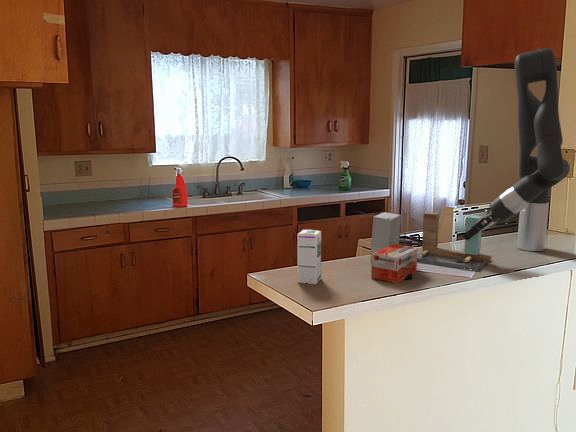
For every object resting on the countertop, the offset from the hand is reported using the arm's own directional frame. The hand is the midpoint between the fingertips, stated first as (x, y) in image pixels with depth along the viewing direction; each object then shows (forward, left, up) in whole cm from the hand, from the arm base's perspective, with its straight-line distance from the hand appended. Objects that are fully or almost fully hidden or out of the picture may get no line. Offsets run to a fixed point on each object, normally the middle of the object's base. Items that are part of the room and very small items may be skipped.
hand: (467, 236), depth 176 cm
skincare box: (+17, -21, -8) cm, 28 cm away
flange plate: (+2, -4, -8) cm, 10 cm away
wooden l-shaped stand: (+2, -3, -7) cm, 8 cm away
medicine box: (+28, -13, -9) cm, 33 cm away
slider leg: (+2, +2, -7) cm, 7 cm away
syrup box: (+48, -31, -8) cm, 58 cm away
